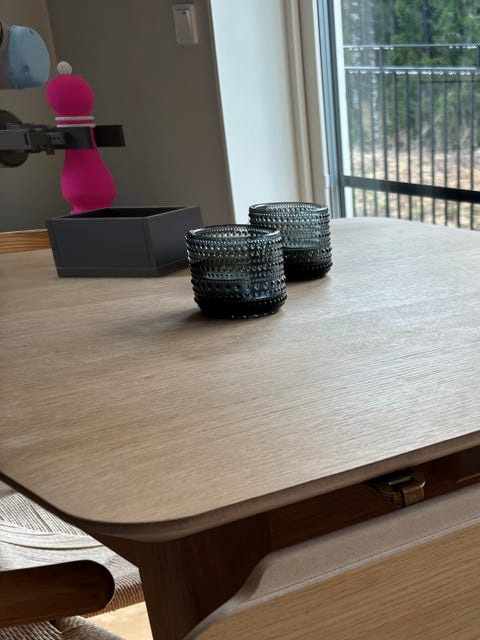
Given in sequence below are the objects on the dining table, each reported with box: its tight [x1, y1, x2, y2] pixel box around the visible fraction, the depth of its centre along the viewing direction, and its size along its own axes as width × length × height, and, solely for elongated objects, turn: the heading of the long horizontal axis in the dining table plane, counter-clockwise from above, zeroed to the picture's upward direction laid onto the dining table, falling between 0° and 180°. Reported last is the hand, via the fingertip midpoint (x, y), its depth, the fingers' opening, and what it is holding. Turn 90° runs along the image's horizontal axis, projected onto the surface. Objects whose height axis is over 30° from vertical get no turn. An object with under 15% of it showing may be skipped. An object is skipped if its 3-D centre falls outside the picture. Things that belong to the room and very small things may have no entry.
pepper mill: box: [45, 61, 118, 214], centre depth 135 cm, size 7×7×20 cm
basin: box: [44, 205, 204, 278], centre depth 112 cm, size 12×12×6 cm
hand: (105, 136), depth 132 cm, fingers closed on pepper mill, 5 cm apart
